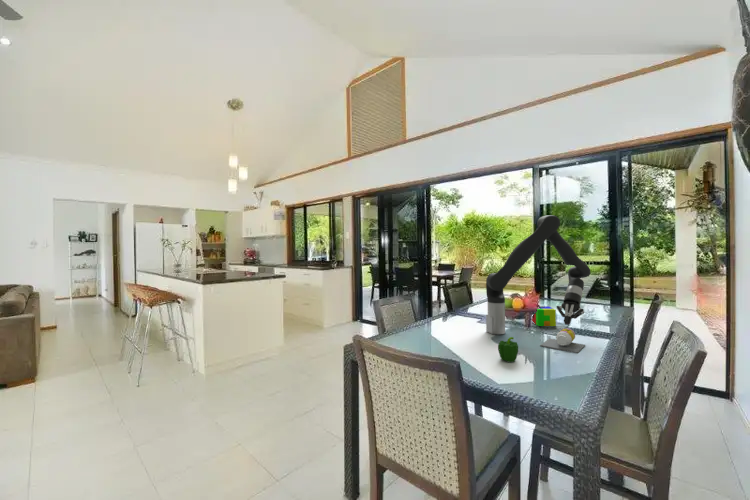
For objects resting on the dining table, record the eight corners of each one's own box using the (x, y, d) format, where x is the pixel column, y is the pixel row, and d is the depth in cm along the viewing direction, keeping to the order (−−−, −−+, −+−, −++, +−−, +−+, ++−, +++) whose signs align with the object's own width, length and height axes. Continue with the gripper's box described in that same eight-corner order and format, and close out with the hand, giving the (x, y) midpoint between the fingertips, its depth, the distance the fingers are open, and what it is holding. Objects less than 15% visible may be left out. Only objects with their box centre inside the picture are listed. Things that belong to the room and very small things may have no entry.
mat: (549, 339, 174) (549, 338, 174) (585, 345, 163) (585, 344, 163) (540, 346, 164) (540, 345, 164) (577, 353, 153) (577, 352, 153)
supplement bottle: (572, 326, 168) (566, 332, 158) (577, 339, 167) (572, 346, 157) (558, 329, 172) (551, 335, 162) (563, 342, 171) (557, 348, 161)
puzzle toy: (548, 322, 208) (548, 306, 208) (555, 326, 198) (555, 309, 198) (532, 322, 209) (531, 306, 209) (538, 326, 199) (538, 309, 199)
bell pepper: (502, 364, 142) (502, 340, 142) (495, 357, 151) (495, 335, 150) (522, 363, 143) (522, 340, 142) (514, 356, 151) (513, 334, 150)
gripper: (557, 290, 179) (550, 317, 171) (586, 292, 170) (580, 321, 162) (560, 299, 183) (553, 325, 175) (589, 301, 174) (583, 330, 166)
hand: (566, 323), depth 168 cm, fingers closed
